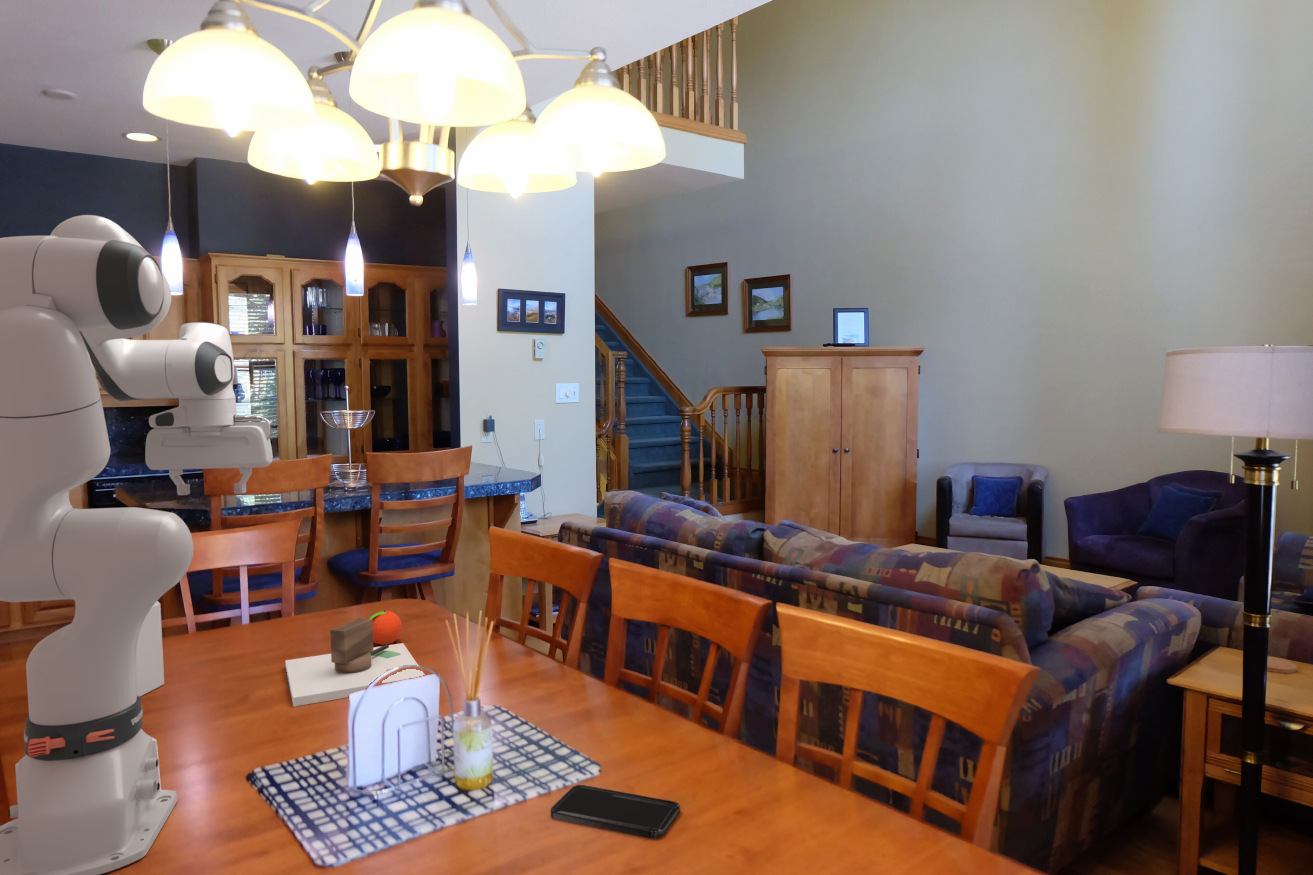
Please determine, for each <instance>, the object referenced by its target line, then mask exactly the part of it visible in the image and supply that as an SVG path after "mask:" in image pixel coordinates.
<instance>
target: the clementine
mask: <svg viewBox="0 0 1313 875" xmlns="http://www.w3.org/2000/svg"><path fill="white" fill-rule="evenodd" d="M369 619H372V626H373V643H375V644H377V645H381V646H384V645H386V644H388V645H392V644H393V643H394V642H395V641H397V640H398V639H399V638H400V636H401V634H402V631H403V623H402V620H401V618H400V617H399V616H398V615H397V614H396V613H394V612H393V611H389V610H383V611H379V612H377V613H374V614H373V615H372V616H370V617H369Z"/></svg>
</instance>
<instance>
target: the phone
mask: <svg viewBox="0 0 1313 875" xmlns="http://www.w3.org/2000/svg"><path fill="white" fill-rule="evenodd" d="M680 806H681V805H680V804H679V803H678V802H677V801H673V800H666V799H662V798H657V797H651V796H645V795H640V794H635V793H629V792H624V791H619V790H612V789H607V788H601V787H597V786H591V785H586V784H578V785H577V784H576V785H573V786H572V787H571V788H569V790H568V791H567V792H566V793H564V795H562V796H561V798H559V799H558V800H557V801H556V802H555V803H554V804H553V806H551V808H550V816H551V818H552V819H553V820H554V819H555V820H559V821H565V822H568V823H574V824H578V825H584V826H588V827H593V828H596V829H597V828H598V829H603V830H607V831H612V832H616V833H623V834H627V835H632V836H637V837H641V838H647V839H652V840H656V839H661V838H662V837H663V836H664V835H665V834H666V832H667V831H668V830H669V828H671V826H672V824H673V823H674V821H675V820H676V818H677V817H678V816H679V814H680V812H681V811H680V810H681V807H680Z"/></svg>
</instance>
